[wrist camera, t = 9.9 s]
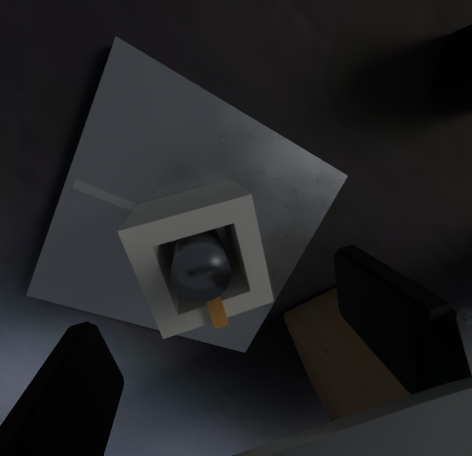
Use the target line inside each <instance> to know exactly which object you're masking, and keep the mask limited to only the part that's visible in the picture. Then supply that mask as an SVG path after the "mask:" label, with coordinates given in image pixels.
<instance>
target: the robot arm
mask: <svg viewBox="0 0 472 456" xmlns="http://www.w3.org/2000/svg"><path fill="white" fill-rule="evenodd" d="M334 266H335V276H336V285H337V295H338V305H339V311H340V314H341V316H342V317H343V319H344V320H345V321H346V322H347V323H348V324H349V325H350V327H351V328H352V329H353V330H354V331H355V332H356V333H357V334H358V336H359V337H360V338H361V339H362V340H363V341H364V342H365V344H366V345H367V346H368V347H369V348H370V349H371V350H372V352H373V353H374V354H375V355H376V356H377V357H378V358H379V359H380V361H381V362H382V363H383V364H384V365H385V366H386V367H387V369H388V370H389V371H390V372H391V373H392V374H393V375H394V377H395V378H396V379H397V380H398V381H399V382H400V383H401V384H402V386H403V387H404V388H405V389H406V390H407V391H408V392H409V393H410V394H412V395H409V396H406V397H402V398H399V399H396V400H393V401H390V402H387V403H384V404H381V405H378V406H375V407H372V408H370V409H367V410H364V411H361V412H358V413H355V414H352V415H349V416H346V417H343V418H340V419H337V420H334V421H331V422H329V423H326V424H323V425H320V426H317V427H314V428H311V429H308V430H305V431H302V432H299V433H296V434H294V435H291V436H288V437H285V438H282V439H279V440H276V441H273V442H271V443H268V444H265V445H262V446H259V447H256V448H253V449H250V450H248V451H245V452H242V453H239V454H236V455H233V456H472V306H470V307H465V308H463V309H461V310H459V311H458V312H456V311H455V310H453V309H452V308H450V303H448V302H447V301H445V300H443V299H442V298H440V297H438V296H437V295H435V294H433V293H432V292H430V291H428V290H427V289H425V288H423V287H422V286H420V285H419V284H417V283H415V282H414V281H412V280H410V279H409V278H407V277H405V276H404V275H402V274H400V273H399V272H397V271H395V270H394V269H392V268H390V267H389V266H387V265H386V264H384V263H382V262H381V261H379V260H377V259H376V258H374V257H372V256H371V255H369V254H367V253H366V252H364V251H362V250H361V249H359V248H357V247H356V246H354V245H349V246H346V247H343V248H339V249H338V250H337V253H335V254H334ZM123 387H124V379H123V375H122V373H121V372H120V370H119V368H118V366H117V364H116V362H115V360H114V358H113V356H112V354H111V352H110V350H109V348H108V347H107V345H106V343H105V341H104V339H103V337H102V335H101V333H100V331H99V329H98V327H97V326H96V325H95V324H91V323H90V322H84V323H80V324H77V325H73V326H70V327H69V328H68V329H67V331H66V332H65V334H64V335H63V336H62V338H61V339H60V341H59V342H58V344H57V345H56V347H55V348H54V349H53V351H52V352H51V354H50V355H49V357H48V358H47V360H46V361H45V362H44V364H43V365H42V367H41V368H40V370H39V371H38V372H37V374H36V375H35V377H34V378H33V380H32V381H31V383H30V384H29V385H28V387H27V388H26V390H25V391H24V393H23V394H22V396H21V397H20V398H19V400H18V401H17V403H16V404H15V406H14V407H13V408H12V410H11V411H10V413H9V414H8V416H7V417H6V419H5V420H4V421H3V423H2V424H1V426H0V456H104V452H105V449H106V445H107V442H108V439H109V435H110V432H111V428H112V425H113V421H114V418H115V415H116V411H117V408H118V404H119V401H120V398H121V394H122V391H123Z"/></svg>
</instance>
